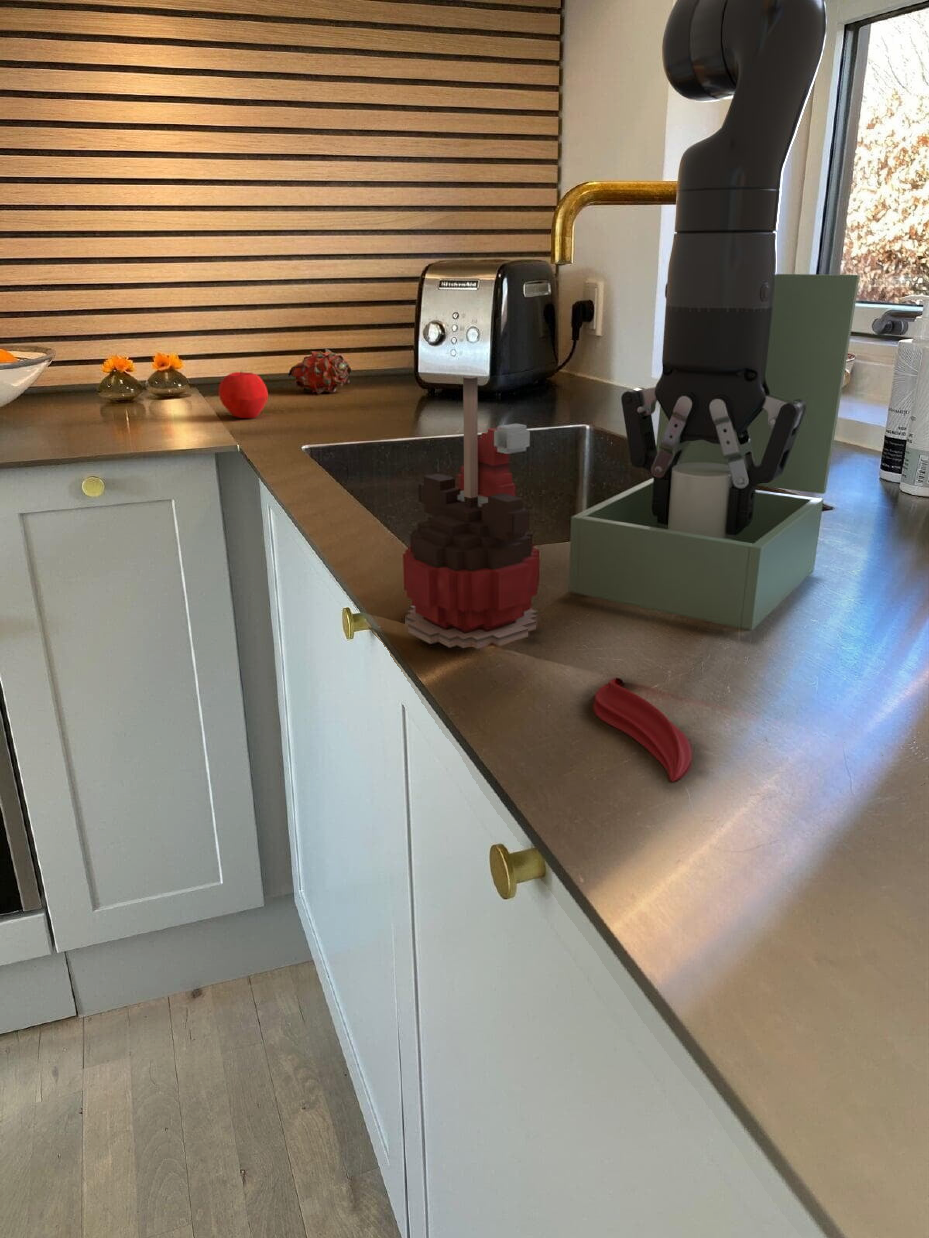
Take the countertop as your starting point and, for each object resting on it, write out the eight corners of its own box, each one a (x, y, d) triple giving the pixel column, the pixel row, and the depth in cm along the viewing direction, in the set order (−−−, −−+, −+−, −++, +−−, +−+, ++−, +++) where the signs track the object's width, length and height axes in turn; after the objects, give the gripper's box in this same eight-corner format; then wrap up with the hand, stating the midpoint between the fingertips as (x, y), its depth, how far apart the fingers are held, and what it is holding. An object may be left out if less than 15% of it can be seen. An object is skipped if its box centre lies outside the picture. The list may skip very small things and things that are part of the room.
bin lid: (857, 274, 70) (871, 278, 74) (673, 273, 78) (694, 276, 82) (823, 494, 75) (838, 486, 79) (653, 472, 83) (674, 466, 87)
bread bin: (750, 640, 66) (761, 548, 64) (567, 600, 74) (570, 516, 71) (812, 578, 78) (823, 498, 76) (649, 549, 86) (654, 476, 83)
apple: (212, 417, 154) (207, 371, 151) (256, 411, 159) (251, 366, 156) (233, 423, 148) (228, 375, 146) (278, 418, 153) (274, 371, 150)
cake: (377, 624, 70) (366, 375, 63) (476, 596, 75) (475, 364, 68) (466, 672, 62) (463, 393, 55) (569, 637, 67) (578, 379, 60)
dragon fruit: (357, 401, 178) (295, 411, 179) (357, 370, 183) (297, 379, 184) (345, 367, 171) (281, 378, 172) (345, 336, 175) (283, 346, 177)
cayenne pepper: (587, 682, 60) (588, 654, 59) (659, 682, 60) (661, 654, 59) (611, 782, 49) (613, 749, 48) (700, 782, 49) (703, 750, 48)
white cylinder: (678, 565, 79) (686, 459, 76) (736, 576, 76) (747, 466, 73) (653, 582, 75) (661, 471, 72) (714, 594, 72) (724, 479, 69)
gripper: (835, 300, 67) (805, 529, 73) (648, 295, 74) (636, 504, 81) (805, 306, 61) (775, 555, 67) (605, 301, 69) (596, 525, 75)
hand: (699, 526), depth 74 cm, fingers closed on white cylinder, 5 cm apart
